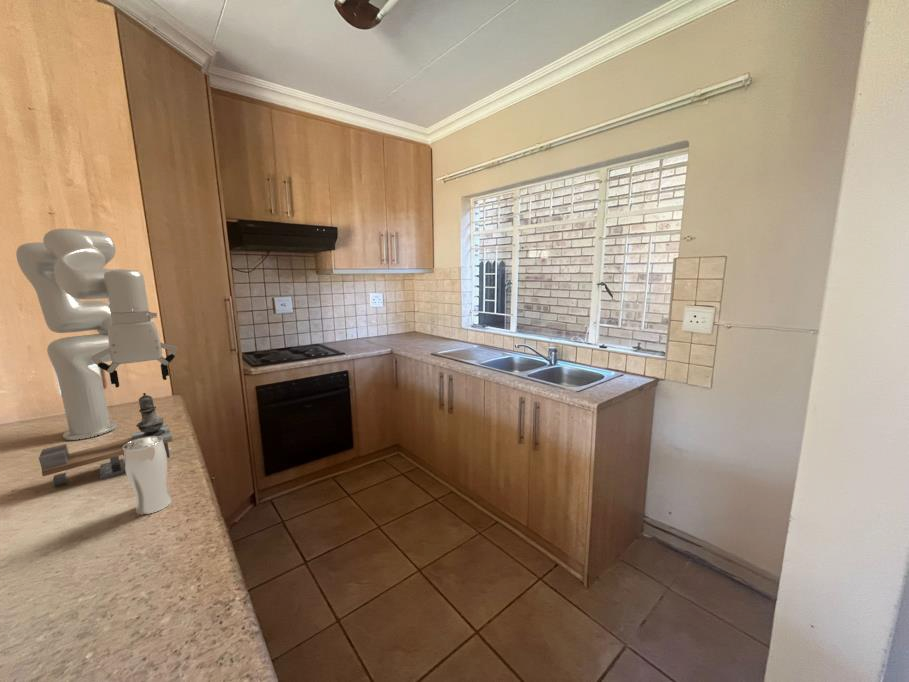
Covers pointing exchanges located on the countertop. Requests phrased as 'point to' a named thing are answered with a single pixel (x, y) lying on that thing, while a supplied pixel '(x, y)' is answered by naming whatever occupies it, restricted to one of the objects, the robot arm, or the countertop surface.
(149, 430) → the chess piece
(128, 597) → the countertop surface
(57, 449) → the beam
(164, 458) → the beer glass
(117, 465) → the beam stand
